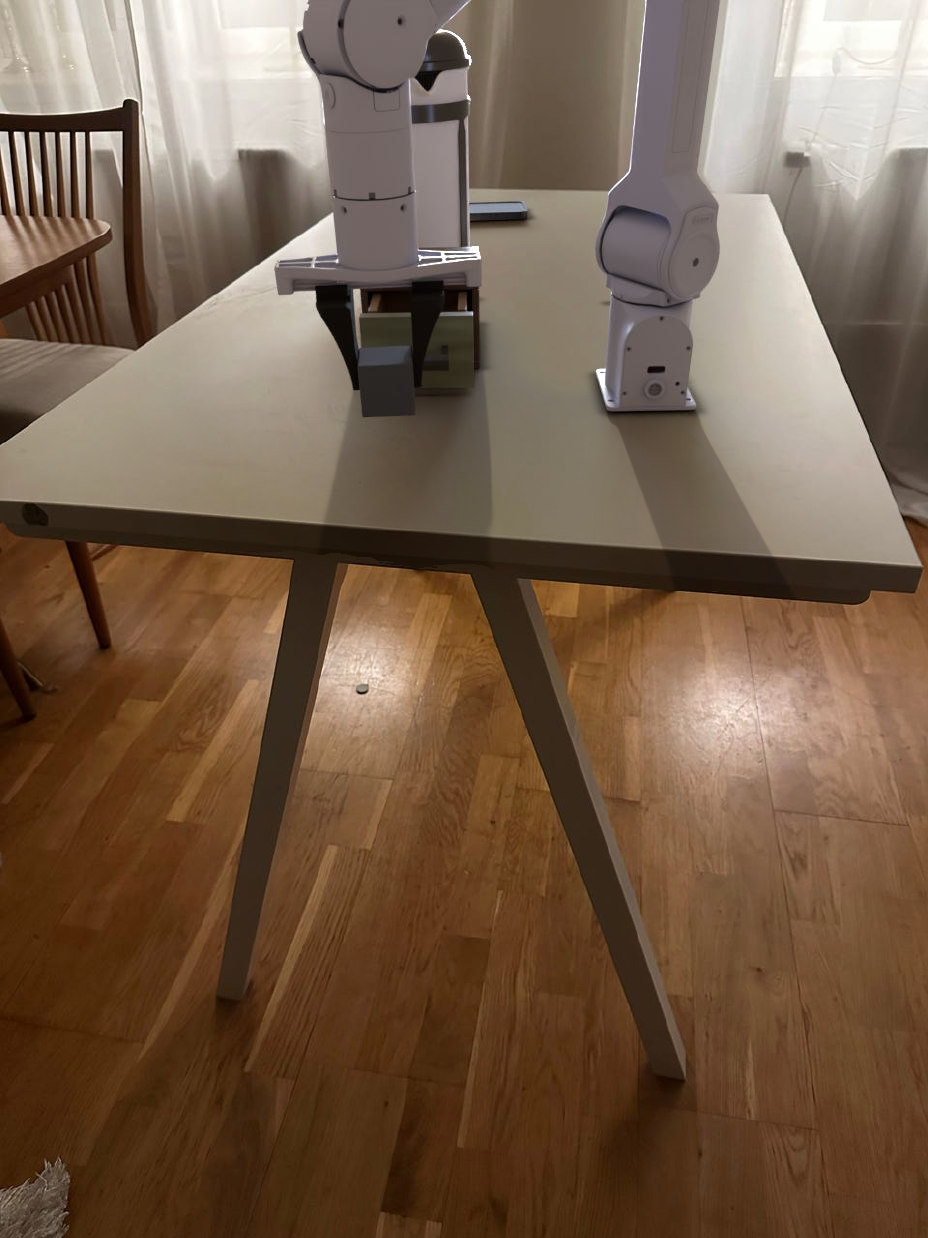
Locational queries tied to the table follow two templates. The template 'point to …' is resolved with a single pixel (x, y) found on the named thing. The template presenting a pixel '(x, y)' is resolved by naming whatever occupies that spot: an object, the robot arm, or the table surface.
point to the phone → (497, 210)
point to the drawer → (448, 343)
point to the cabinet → (471, 291)
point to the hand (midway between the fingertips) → (387, 384)
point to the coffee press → (441, 143)
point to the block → (386, 381)
